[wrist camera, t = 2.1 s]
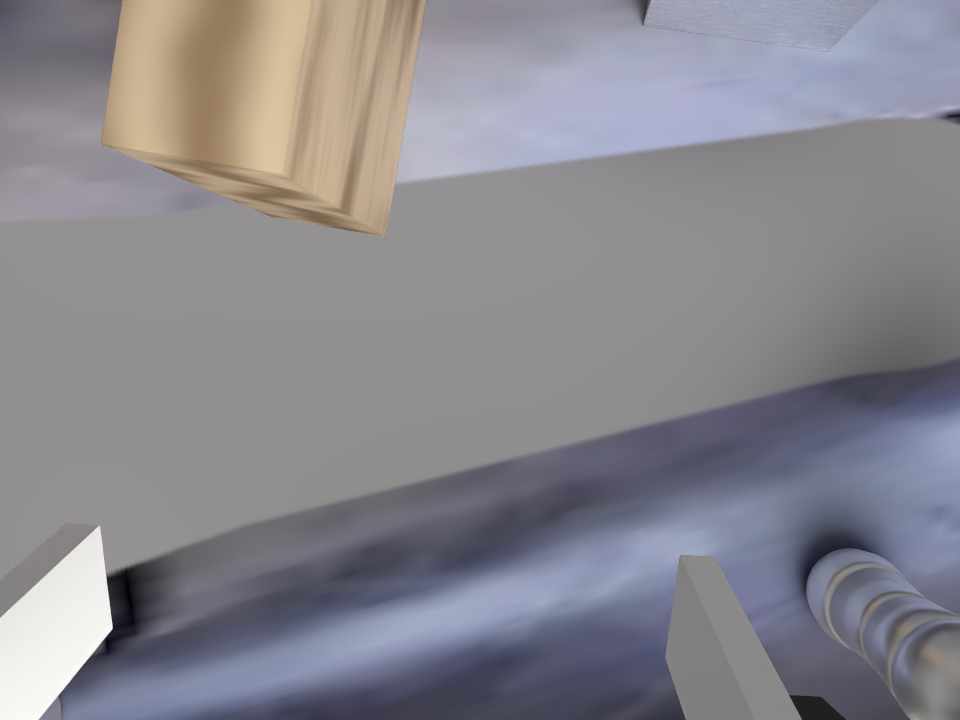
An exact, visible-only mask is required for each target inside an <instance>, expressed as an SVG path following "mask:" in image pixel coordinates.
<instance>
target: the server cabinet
mask: <svg viewBox="0 0 960 720" xmlns="http://www.w3.org/2000/svg"><path fill="white" fill-rule="evenodd" d="M878 1H879V0H648V3H647V8H646V13H645V19H644V24H643V26H647V27H654V28H661V29H668V30H675V31H682V32H689V33H696V34H703V35H711V36H718V37H725V38H732V39H739V40H746V41H753V42H760V43H767V44H775V45H782V46H789V47H796V48H803V49H810V50H817V51H824V52H828V51H829V50H830V49H831V48H832V47H833V46H834V45H835V44H836V43H837V42H838V41H839V40H840V39H841V38H842V37H843V36H844V35H845V34H846V33H847V32H848V31H849V30H850V29H851V28H852V27H853V26H854V25H855V24H856V23H857V22H858V21H859V20H860V19H861V18H862V17H863V16H864V15H865V14H866V13H867V12H868V11H869V10H870V9H871V8H872V7H873V6H874V5H875V4H876V3H877V2H878Z"/></svg>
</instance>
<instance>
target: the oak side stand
mask: <svg viewBox="0 0 960 720" xmlns="http://www.w3.org/2000/svg"><path fill="white" fill-rule="evenodd" d="M425 5H426V0H122V7H121V13H120V20H119V27H118V33H117V40H116V47H115V53H114V60H113V66H112V73H111V80H110V86H109V93H108V100H107V106H106V113H105V119H104V126H103V133H102V139H101V144H102V145H105V146H107V147H109V148H112V149H114V150H116V151H119V152H121V153H123V154H126V155H128V156H130V157H133V158H135V159H137V160H140V161H142V162H144V163H147V164H149V165H151V166H154V167H156V168H158V169H161V170H163V171H165V172H168V173H170V174H172V175H175V176H177V177H179V178H182V179H184V180H186V181H189V182H191V183H193V184H196V185H198V186H200V187H203V188H205V189H207V190H210V191H212V192H214V193H217V194H219V195H221V196H224V197H226V198H228V199H231V200H233V201H235V202H238V203H240V204H242V205H245V206H247V207H249V208H252V209H254V210H256V211H259V212H261V213H263V214H266V215H268V216H270V217H275V218H281V219H286V220H292V221H297V222H303V223H309V224H315V225H321V226H326V227H332V228H338V229H344V230H349V231H355V232H361V233H367V234H373V235H379V236H384V237H385V235H386V230H387V224H388V218H389V212H390V207H391V201H392V195H393V189H394V183H395V178H396V172H397V166H398V160H399V155H400V149H401V143H402V137H403V132H404V126H405V120H406V114H407V108H408V103H409V97H410V91H411V85H412V80H413V74H414V68H415V62H416V57H417V51H418V45H419V39H420V33H421V28H422V22H423V16H424V10H425Z"/></svg>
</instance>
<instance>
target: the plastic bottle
mask: <svg viewBox="0 0 960 720" xmlns="http://www.w3.org/2000/svg"><path fill="white" fill-rule="evenodd" d="M806 594H807V601H808V604H809V606H810V609H811V611H812V613H813V615H814V617H815V619H816V621H817V622H818V624H819V625H820V627H821V628H822V629H823V630H824V631H825V632H826V633H827V634H828V635H829V636H831V637H832V638H833V639H835V640H836V641H837V642H839V643H840V644H842V645H843V646H845V647H847V648H849V649H851V650H853V651H855V652H856V653H857V654H858V655H860V656H861V657H862V658H864V659H865V660H866V661H867V662H869V664H870V665H871V666H872V667H873V668H874V670H875V671H876V672H877V673H878V674H879V675H880V677H881V678H882V679H883V680H884V681H885V683H886V684H887V686H888V687H889V689H890V690H891V692H892V694H893V695H894V697H895V698H896V700H897V701H898V703H899V704H900V706H901V708H902V709H903V711H904V712H905V713H906V715H907V716H908V717H909V718H910V720H960V616H959V615H957V614H954V613H952V612H950V611H947V610H946V609H944V608H942V607H940V606H939V605H937V604H935V603H933V602H932V601H930V600H928V599H927V598H925V597H924V596H923V595H922V594H921V593H919V592H918V591H917V590H916V589H915V588H914V587H913V586H912V585H911V584H910V583H909V581H908V580H907V579H906V578H905V577H904V576H903V575H902V573H901V572H900V571H899V570H898V569H897V568H896V567H895V566H894V565H893V564H891V563H890V562H889V561H887V560H886V559H885V558H883V557H880V556H878V555H876V554H873V553H870V552H866V551H863V550H859V549H851V548H847V549H839V550H836V551H833V552H830V553H829V554H827V555H825V556H823V557H822V558H821V559H820V560H819V561H818V562H817V563H816V564H815V565H814V567H813V568H812V570H811V572H810V574H809V576H808V580H807V586H806Z"/></svg>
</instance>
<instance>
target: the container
mask: <svg viewBox="0 0 960 720" xmlns="http://www.w3.org/2000/svg"><path fill="white" fill-rule="evenodd" d="M61 716H62V713H61V703H60V699H59V696H57V698H56V699H55V700H54V701H53V702H52V704H51V705H50V706H49V707H48V709H47V710H46V711H45V712H44V714H43V715H42V716H41V717H40V718H39V720H61Z"/></svg>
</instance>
